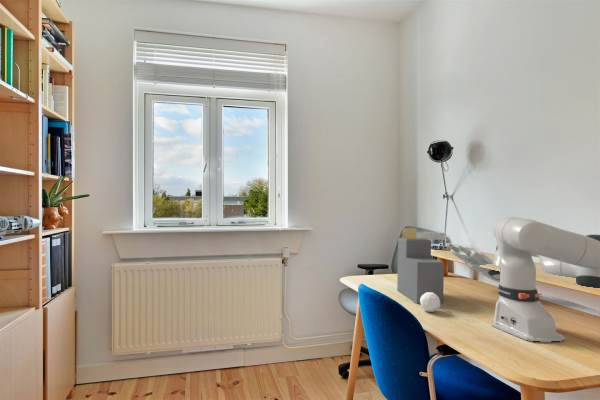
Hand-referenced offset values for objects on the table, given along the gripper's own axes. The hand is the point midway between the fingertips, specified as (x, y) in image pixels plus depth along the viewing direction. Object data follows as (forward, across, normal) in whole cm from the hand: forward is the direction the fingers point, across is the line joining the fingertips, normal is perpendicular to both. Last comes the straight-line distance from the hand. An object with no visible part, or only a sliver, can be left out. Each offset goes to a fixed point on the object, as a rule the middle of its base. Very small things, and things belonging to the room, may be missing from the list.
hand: (454, 246), depth 175 cm
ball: (+11, -28, -32) cm, 44 cm away
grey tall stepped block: (+6, -7, -30) cm, 31 cm away
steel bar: (+15, 0, -5) cm, 16 cm away
